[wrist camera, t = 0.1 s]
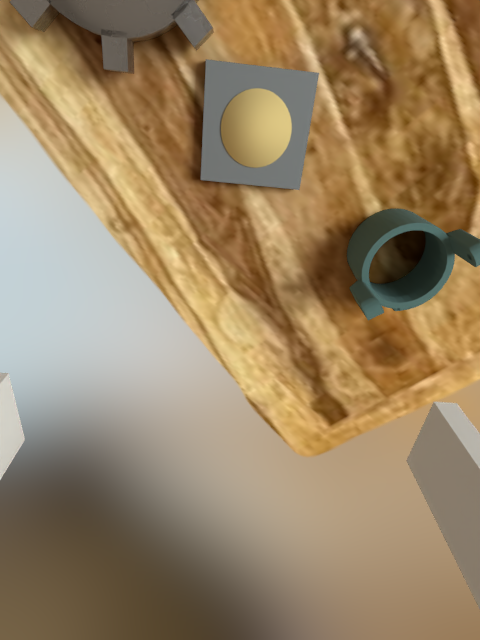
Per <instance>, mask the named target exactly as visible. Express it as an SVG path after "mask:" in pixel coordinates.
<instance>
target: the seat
mask: <svg viewBox="0 0 480 640" xmlns="http://www.w3.org/2000/svg"><path fill="white" fill-rule="evenodd" d="M318 75H319V73H314V72H306V71H297V70H289V69H281V68H272V67H264V66H256V65H247V64H239V63H231V62H222V61H214V60H206V70H205V92H204V115H203V137H202V160H201V180H206V181H216V182H226V183H236V184H246V185H256V186H266V187H276V188H287V189H297V190H299V188H300V182H301V176H302V170H303V164H304V158H305V153H306V147H307V141H308V135H309V129H310V123H311V117H312V111H313V105H314V99H315V93H316V87H317V81H318Z"/></svg>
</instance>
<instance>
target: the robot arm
mask: <svg viewBox="0 0 480 640" xmlns="http://www.w3.org/2000/svg"><path fill="white" fill-rule="evenodd" d="M24 440H25V438H24V434H23V430H22V426H21V422H20V418H19V414H18V410H17V406H16V402H15V398H14V394H13V390H12V386H11V382H10V377H9V374H8V373H0V479H1V478H2V476H3V474H4V473H5V471H6V469H7V468H8V466H9V464H10V463H11V461H12V459H13V458H14V456H15V455H16V453H17V452H18V450H19V448H20V447H21V445H22V443H23V442H24ZM407 463H408V465H409V467H410V469H411V471H412V473H413V475H414V477H415V479H416V481H417V483H418V485H419V487H420V489H421V491H422V493H423V495H424V497H425V499H426V501H427V503H428V505H429V507H430V509H431V511H432V514H433V516H434V518H435V520H436V522H437V523H438V526H439V528H440V530H441V532H442V534H443V536H444V538H445V540H446V542H447V544H448V546H449V548H450V550H451V552H452V554H453V556H454V558H455V560H456V562H457V564H458V566H459V568H460V570H461V572H462V574H463V577H464V578H465V580H466V583H467V585H468V587H469V589H470V591H471V593H472V595H473V597H474V599H475V601H476V603H477V605H478V607H479V609H480V434H479V432H478V431H477V430H476V428H475V427H474V426H473V424H472V423H471V422H470V420H469V419H468V418H467V416H466V415H465V414H464V412H463V411H462V410H461V409H460V407H459V406H458V404H457V403H445V402H444V403H443V402H433V405H432V407H431V409H430V411H429V413H428V416H427V418H426V420H425V422H424V424H423V427H422V428H421V430H420V433H419V435H418V437H417V439H416V441H415V443H414V446H413V448H412V450H411V452H410V454H409V456H408V458H407Z"/></svg>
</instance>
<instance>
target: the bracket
mask: <svg viewBox="0 0 480 640" xmlns="http://www.w3.org/2000/svg"><path fill="white" fill-rule="evenodd" d="M412 230H422V231H424V233H425V239H426V244H425V250H424V253H423V255H422V257H421V259H420V261H419V263H418V264H417V265H416V267H415V268H414V269H413V270H412V271H411V272H410V273H408V274H407V275H406V276H404V277H403V278H401V279H399V280H397V281H394V282H391V283H385V284H376V283H371V282H370V281H369V268H370V264H371V261H372V259H373V257H374V255H375V254H376V252H377V251H378V249H379V248H380V247H381V246H382V245H383V244H384V243H385V242H387V241H388V240H389V239H390V238H392V237H394V236H396V235H398V234H400V233H403V232H407V231H412ZM455 254H456V255H458V256H459V257H461V258H462V259H464V260H465V261H467V262H468V263H470V264H471V265H473V266H474V267H477V266H479V265H480V239H478V238H476V237H474V236H473V235H471V234H469V233H467V232H465V231H463V230H461V229H459V230H455V231H452V232H449V233H445V232H444V231H442V230H441V229H440V228H438V227H436V226H435V225H433V224H431V223H430V222H428V221H426V220H425V219H423V218H421V217H420V216H418V215H416V214H415V213H413V212H410V211H408V210H404V209H388V210H383V211H380V212H378V213H375V214H374V215H372V216H370V217H369V218H367V219H366V220H365V221H363V222H362V223H361V224H360V225H359V227H358V228H357V229H356V230H355V232H354V233H353V235H352V237H351V239H350V241H349V245H348V249H347V262H348V264H349V266H350V268H351V270H352V272H353V274H354V276H355V277H356V279H357V280H358V281H356V282H355V283H354V284H353V285H352V286H351V287H350V291H351V293H352V294H353V296H354V298H355V300H356V302H357V304H358V305H359V307H360V308H361V310H362V311H363V313H364V315H365V316H366V318H367V319H368V320H370V319H372V318H374V317H376V316H378V315H380V314H382V313H384V310H383V308H382V306H384V307H388V308H392V309H393V310H394V311H401V310H407V309H411V308H414V307H417V306H419V305H421V304H423V303H425V302H426V301H428V300H430V299H431V298H432V297H433V296H435V295H436V294H437V293H438V292H439V291H440V290H441V289H442V287H443V285H444V284H445V283H446V282H447V280H448V278H449V276H450V274H451V272H452V269H453V265H454V258H455ZM381 305H382V306H381Z"/></svg>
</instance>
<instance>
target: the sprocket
mask: <svg viewBox="0 0 480 640" xmlns="http://www.w3.org/2000/svg"><path fill="white" fill-rule="evenodd" d="M197 2H198V0H11V1H10V3H11V4H12V5H13V6H14V8H15V9H16V10H17V11H18V12H19V13H20V14H21V16H22V17H23V18H24V19H25V20H26V21H27V22H28V24H29V25H30V26H31V27H32V28H35V29H37V30H40V31H42V32H45V30H46V29H47V28H48V26H49V25H50V24H51V23H52V21H53V20H54V19H55V18H56V16H57V15H58V14H59V12H60V13H61V14H62V15H64V16H65V17H67V18H68V19H69V20H71V21H72V22H74V23H75V24H77V25H79V26H81V27H83V28H85V29H87V30H89V31H91V32H93V33H95V34H96V35H99V36H101V37H102V52H103V67H104V69H105V70H109V71H114V72H123V73H132V74H134V54H133V42H137V41H145V40H149V39H152V38H155V37H158V36H160V35H162V34H164V33H166V32H168V31H170V30H171V29H172V28H174V27H175V26H177V25H178V26H179V27H180V29H181V30H182V31H183V33H184V34H185V36H186V37H187V38H188V40H189V41H190V42H191V44H192V45H193V47H194V48H195V49H196V51H197V49H198V48H199V47H200V46H201V45H202V44H203V43H204V42H205V41H206V40H207V39H208V38H209V37H210V36H211V35H212V34H213V33H214V31H213V27H212V26H211V24H210V23H209V21H208V20H207V19H206V17H205V16H204V14H203V13H202V11H201V10H200V8H199V7H198V5H197Z"/></svg>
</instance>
